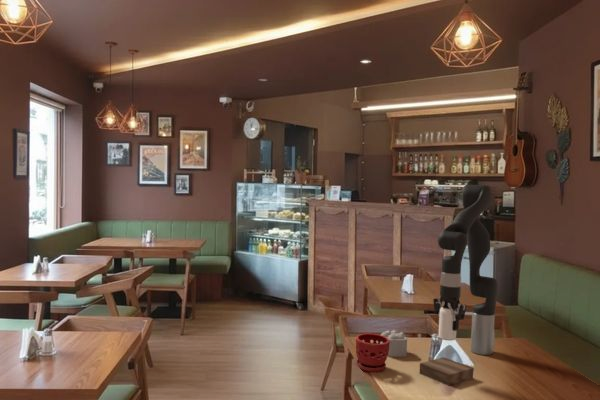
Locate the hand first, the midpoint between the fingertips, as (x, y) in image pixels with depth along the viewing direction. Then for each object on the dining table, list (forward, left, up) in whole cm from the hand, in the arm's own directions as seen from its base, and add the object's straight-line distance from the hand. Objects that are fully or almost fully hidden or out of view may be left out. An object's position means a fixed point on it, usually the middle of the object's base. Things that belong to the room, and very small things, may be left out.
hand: (448, 328), depth 202 cm
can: (0, 0, -4) cm, 4 cm away
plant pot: (+19, -21, -19) cm, 34 cm away
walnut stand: (0, 0, -18) cm, 18 cm away
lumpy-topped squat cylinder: (-3, -31, -19) cm, 36 cm away
